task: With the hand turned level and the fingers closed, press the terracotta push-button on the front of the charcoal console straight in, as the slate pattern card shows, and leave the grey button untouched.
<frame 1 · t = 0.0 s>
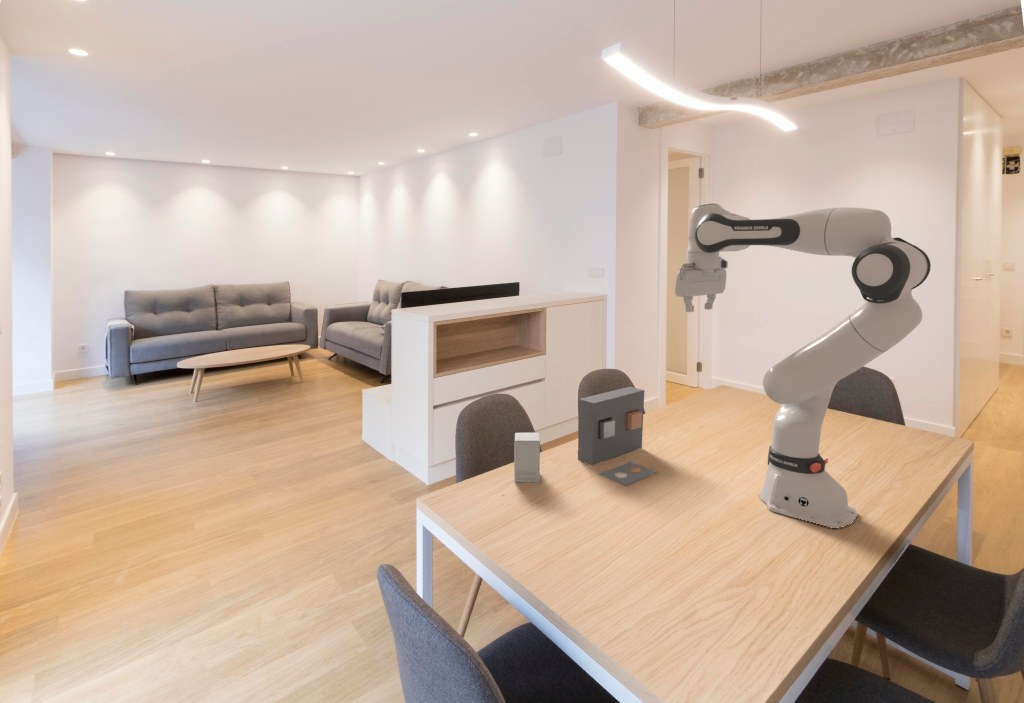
hand: (699, 310, 160), 48 cm above the table, tool pointing down, fingers open, 8 cm apart
button grey: (605, 428, 170), point 11 cm above the table, slide at 0.0 cm
button terracotta: (633, 420, 178), point 11 cm above the table, slide at 0.0 cm
console: (610, 453, 179), on the table
supplement box: (526, 477, 161), on the table
pattern card: (628, 473, 163), on the table
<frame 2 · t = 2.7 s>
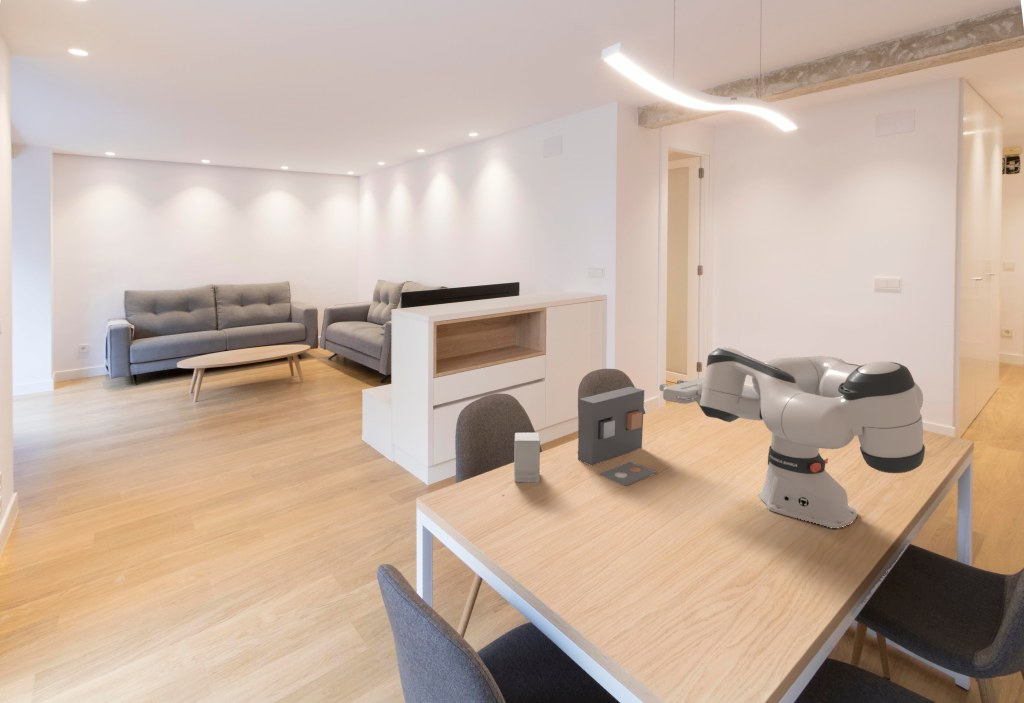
hand: (669, 384, 164), 26 cm above the table, tool horizontal, fingers open, 7 cm apart
nothing on the table moved.
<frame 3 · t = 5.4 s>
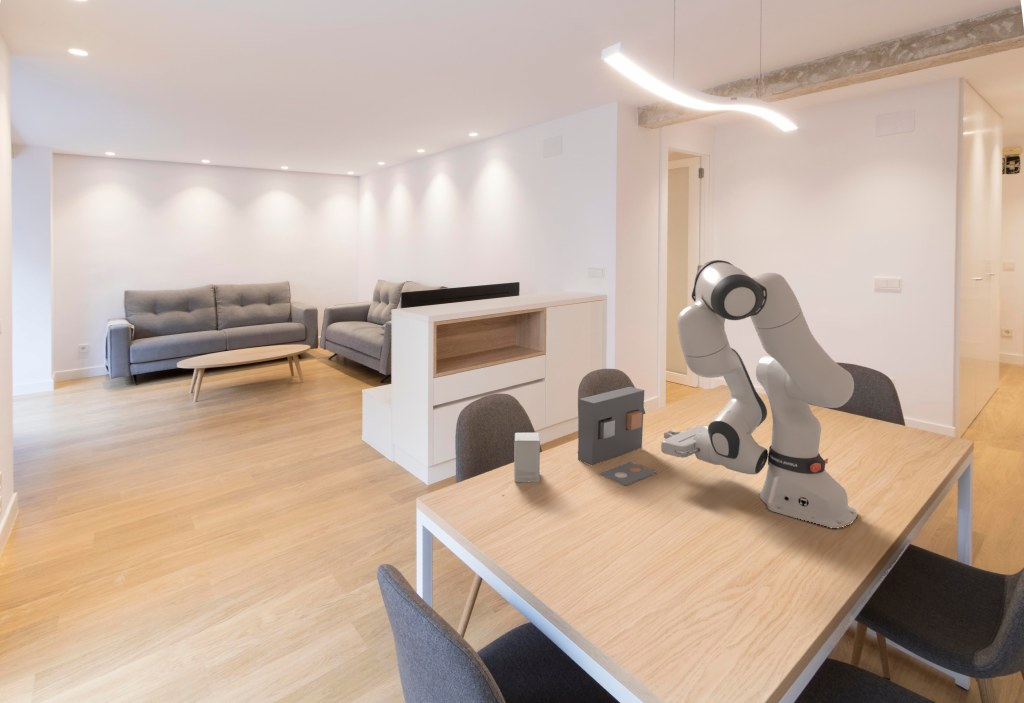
hand: (666, 434, 166), 10 cm above the table, tool horizontal, fingers closed
nothing on the table moved.
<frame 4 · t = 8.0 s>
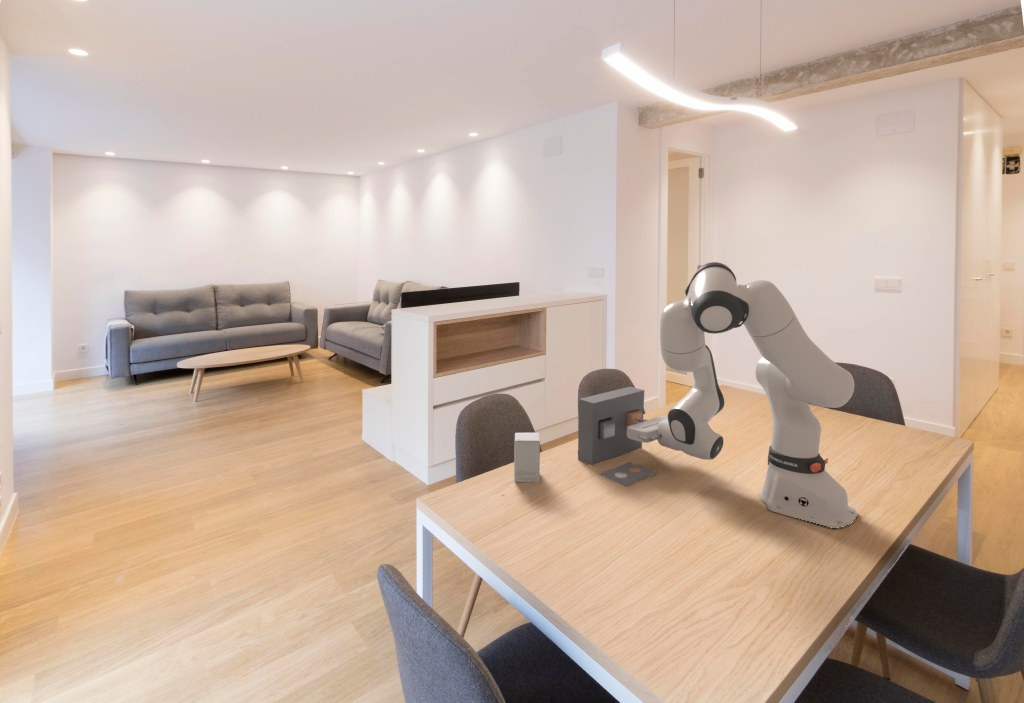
hand: (634, 421, 176), 11 cm above the table, tool horizontal, fingers closed, pressing on button terracotta
button terracotta: (632, 419, 178), point 11 cm above the table, slide at 0.1 cm, touching gripper
everything else where it was.
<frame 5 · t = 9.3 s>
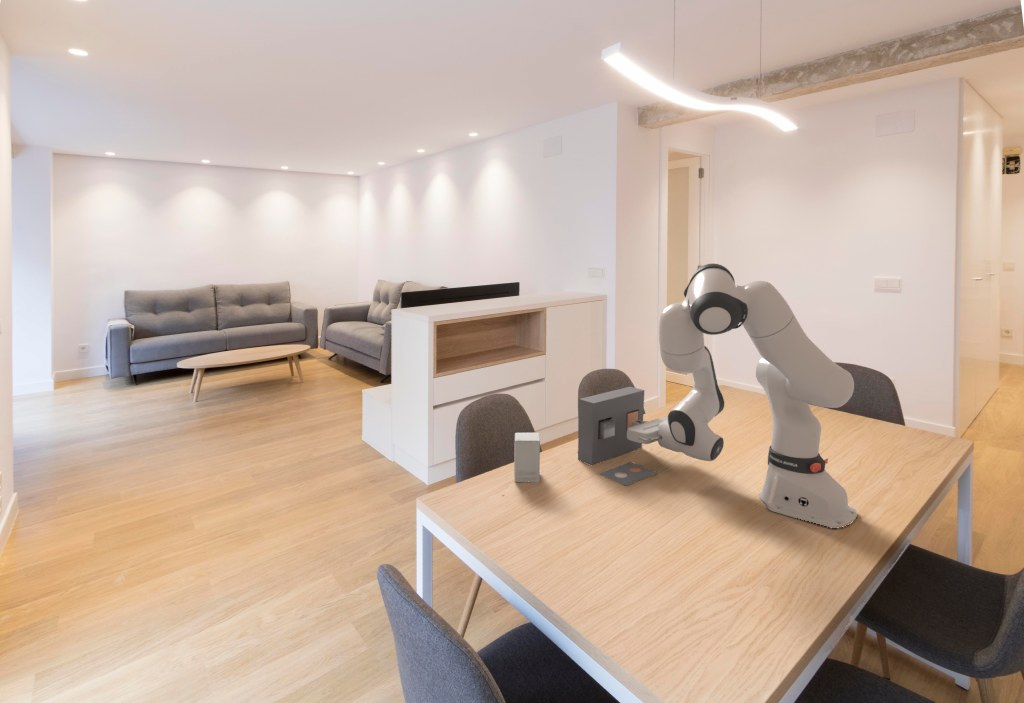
hand: (634, 423, 176), 11 cm above the table, tool horizontal, fingers closed
button terracotta: (629, 418, 179), point 11 cm above the table, slide at 1.6 cm
everything else where it was.
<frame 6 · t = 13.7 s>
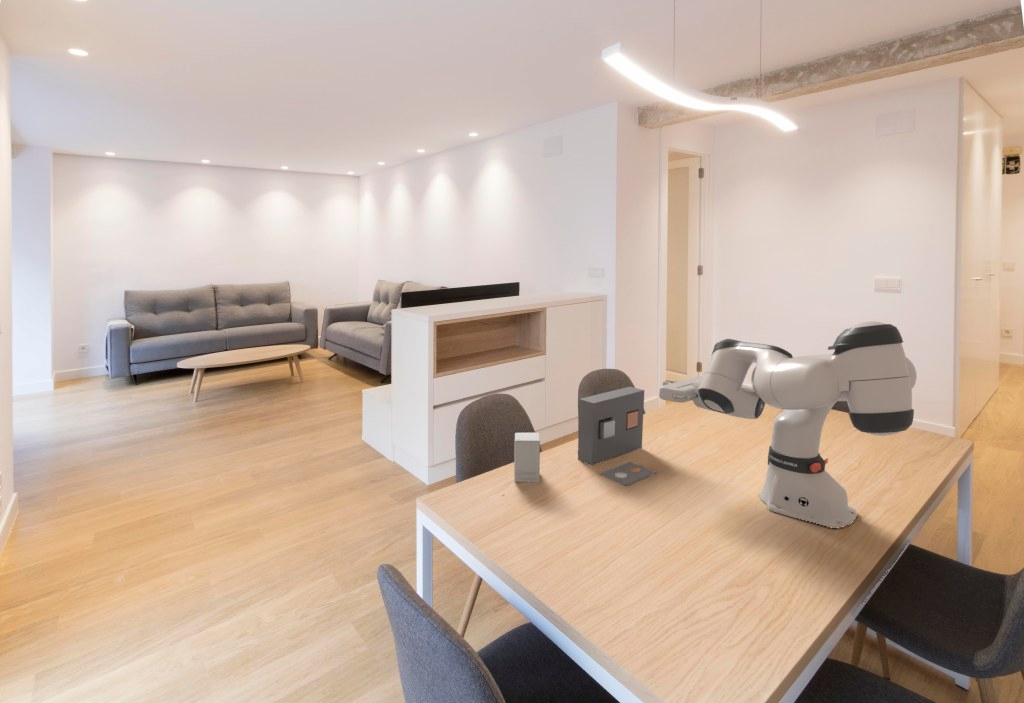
hand: (665, 383, 165), 26 cm above the table, tool horizontal, fingers closed
nothing on the table moved.
at the end: button terracotta slide at 1.6 cm; button grey slide at 0.0 cm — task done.
